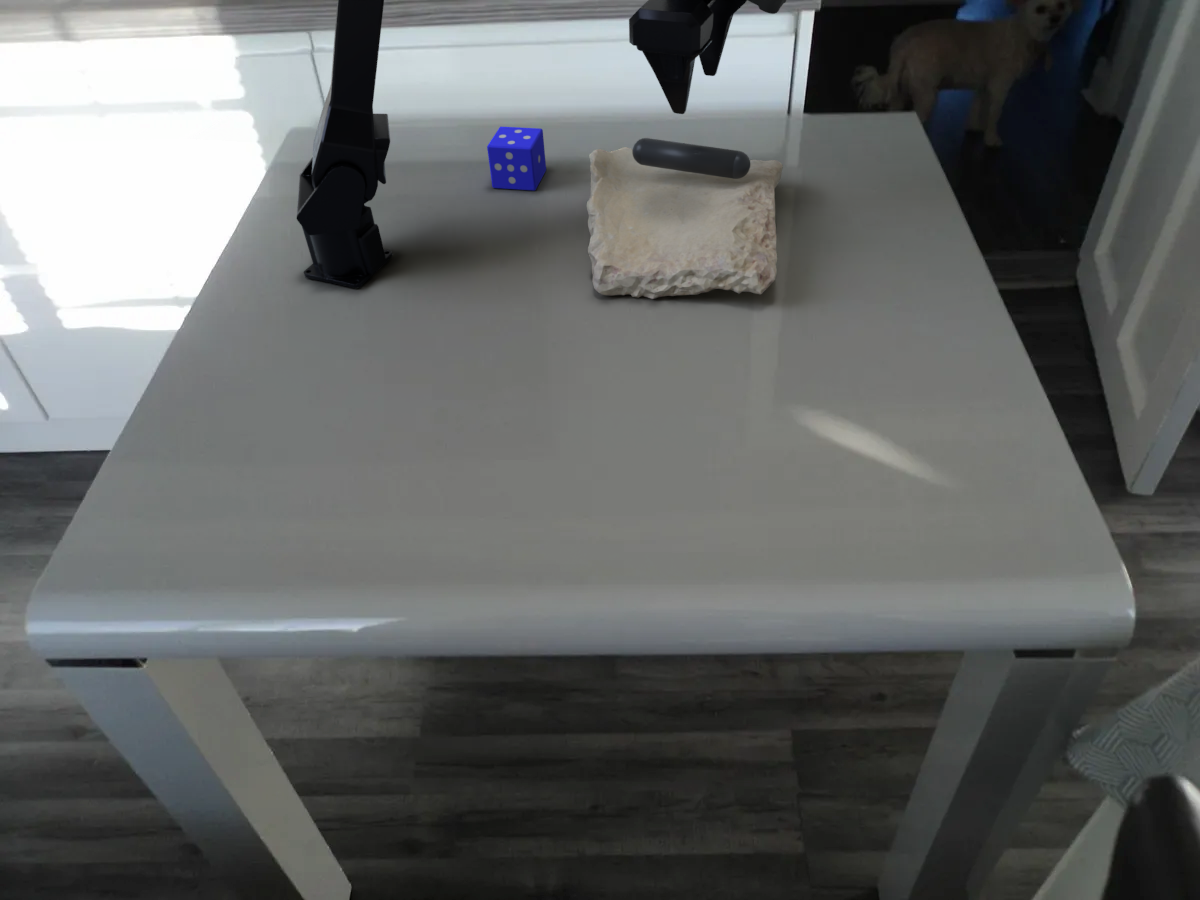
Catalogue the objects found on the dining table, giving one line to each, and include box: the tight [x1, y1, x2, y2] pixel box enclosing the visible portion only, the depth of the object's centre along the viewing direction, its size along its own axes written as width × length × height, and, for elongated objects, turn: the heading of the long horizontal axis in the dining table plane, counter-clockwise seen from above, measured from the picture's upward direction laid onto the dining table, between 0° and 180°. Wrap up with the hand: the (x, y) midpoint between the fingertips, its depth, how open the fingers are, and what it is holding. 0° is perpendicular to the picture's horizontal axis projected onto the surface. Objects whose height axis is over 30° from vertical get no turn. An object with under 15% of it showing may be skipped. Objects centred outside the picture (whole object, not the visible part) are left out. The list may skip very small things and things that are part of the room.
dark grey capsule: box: [632, 137, 751, 179], centre depth 89 cm, size 12×3×3 cm
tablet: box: [586, 147, 784, 300], centre depth 89 cm, size 24×8×20 cm
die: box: [486, 126, 547, 192], centre depth 101 cm, size 5×5×5 cm
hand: (695, 93), depth 86 cm, fingers open, 9 cm apart
